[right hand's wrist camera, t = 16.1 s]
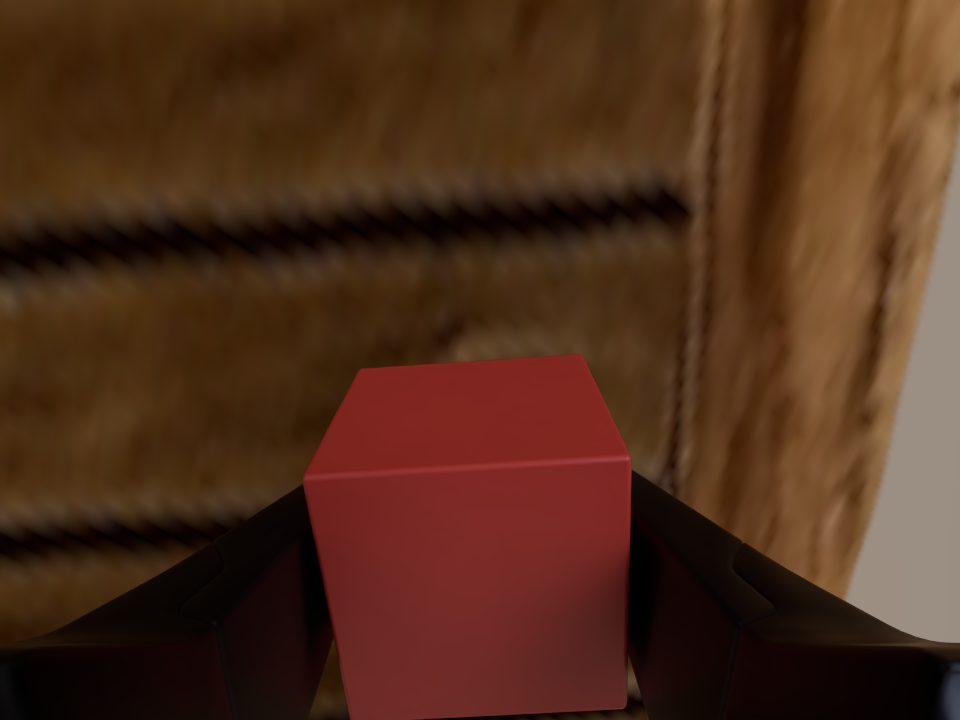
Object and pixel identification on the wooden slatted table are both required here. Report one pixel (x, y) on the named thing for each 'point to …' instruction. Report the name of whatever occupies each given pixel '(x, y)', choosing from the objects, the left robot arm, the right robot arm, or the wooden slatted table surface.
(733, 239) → the wooden slatted table surface
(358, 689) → the block
